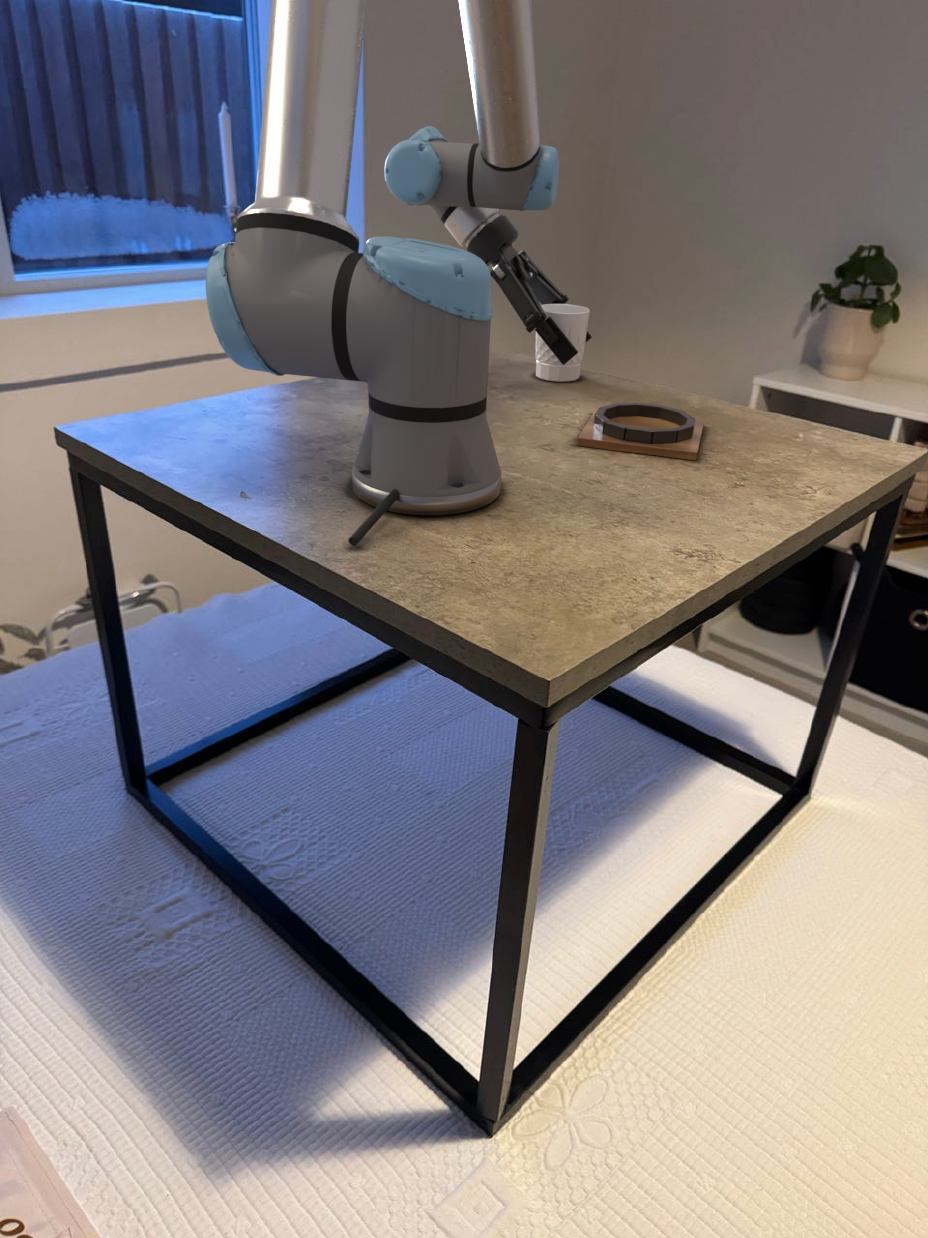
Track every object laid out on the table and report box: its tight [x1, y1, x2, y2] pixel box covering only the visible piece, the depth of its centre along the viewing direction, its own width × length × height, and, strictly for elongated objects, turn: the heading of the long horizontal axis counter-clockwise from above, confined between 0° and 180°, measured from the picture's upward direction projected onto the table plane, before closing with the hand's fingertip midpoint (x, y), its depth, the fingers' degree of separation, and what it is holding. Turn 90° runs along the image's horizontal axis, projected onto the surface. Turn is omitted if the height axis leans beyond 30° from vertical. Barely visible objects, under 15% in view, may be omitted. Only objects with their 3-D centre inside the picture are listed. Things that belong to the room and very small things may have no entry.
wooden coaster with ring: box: [576, 402, 705, 461], centre depth 106 cm, size 14×14×2 cm
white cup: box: [534, 303, 591, 383], centre depth 129 cm, size 8×8×10 cm
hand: (578, 350), depth 129 cm, fingers open, 11 cm apart
